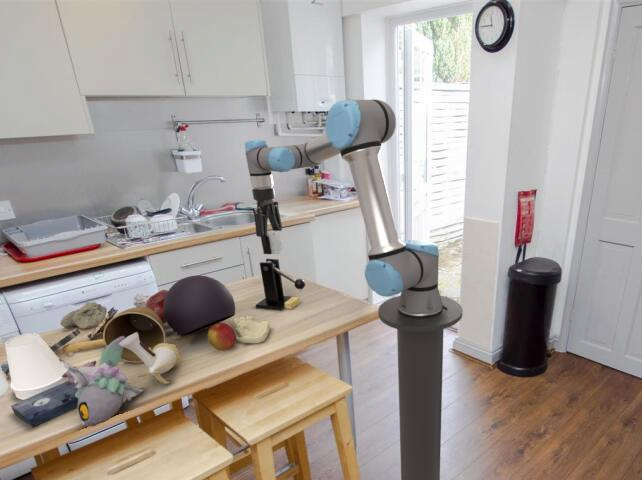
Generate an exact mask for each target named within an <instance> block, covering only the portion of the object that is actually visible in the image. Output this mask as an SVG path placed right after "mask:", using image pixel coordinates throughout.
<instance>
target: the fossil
mask: <svg viewBox="0 0 642 480" xmlns="http://www.w3.org/2000/svg"><path fill="white" fill-rule="evenodd" d="M107 312H108V311H107V307H106V306H103V305H101V303H100V304H99V303H98V302H95V301H92V302H89V301H87V302H86V303H85V304H84V305H83V306H81V307H80V308H77V309H76V310H73V311H70V312H68V313H67V314H65V315H64V316H62V318H61V320H60V322H59V324H60V326H62V328H64V329H66V328H71V327H78V328H80V329H84V330H85V329H90V328H96V327H97V326H98V325H99V324H100V323H101V322H102V321H103V320H104V319H105V318H106V317H107V314H108V313H107Z"/></svg>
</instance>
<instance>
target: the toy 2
mask: <svg viewBox="0 0 642 480" xmlns="http://www.w3.org/2000/svg"><path fill="white" fill-rule="evenodd" d="M124 339H125V337H124V336H122V337H119V338H117V339H116V340H114V341H113V342H111V343H110V344H109V345H108V346H107V347H106V346H105V348H104V349H103V351H102V352H101V354H100V357H99V363H100V365H97V360H93V361H91V362H90V361H89V362H86V363H84V364H83V365H82V366H80V367H77V366H74V365H70V364H69V363H68V362H66V361H65V360H64V359H61V358H59V361H60V362H61V363H63V364H64V365H65V367H66V368H67V371H66V373H64V374H63V375H62V377H64V378H66V377H68V380H67V383H66V385H65V386H69V385H75V389H74V390H77V389H78V391H77V392H76V393H75V396H76V398H78V405H77V407H76V408H77V411H78V416H79V419H80V423H81V424H82V426H83V427H85V428H87V427H88V428H89V427H94V428H95V427H96V426H98V425H100V424H102V423H105V422H107V421H109V420H110V419H111V418H112V417H113V416H114V415H115V414H116V413H118V412H119V410H120V409H121V407H122V406H124V405H125V403H126V400H127V401H128V403H131V401H132V398H135V397H136V396H138V395H140V394H141V393H142V392H143V391H145V388H144V387H140V388H138V387H134V386H132V385H130V382H128V380H129V377H128V376H127V375H126V374H125V373H123V372H120V367H118V366H116V365H118V363H119V362H120V360H121V359H120V358H121V355H122V353H123V348H124V347H122V346H120V345H119V343H120V342H121V341H123V340H124Z"/></svg>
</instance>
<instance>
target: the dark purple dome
mask: <svg viewBox="0 0 642 480" xmlns="http://www.w3.org/2000/svg"><path fill="white" fill-rule="evenodd" d="M167 291H168V292H167V294H166V296H165V299H164V305H163V311H164V316H165V319H166V324H167V323H168V325H169V326H170V327H169V328H170V330H173V331H174V332H175V333H174V334H176V335H178V336H180V337H186V336H188V335H189V336H190V335H192V334H194V333H195V334H196V333H198V332H200V331H202V330H206V329H208V328H210V327H211V326H213V325H214V324H216V323H223V322H224V321H227V320H229V319H230V318H233V317H235V315H236V304H235V300H234V296H233V294H232V293H231V291H230V290H229V289H228V288H227V286H226V285H225V284H223V283H222V282H221V281H219V280H217V279H215V278H213V277H210V276H206V275H190V276H186V277H183V278H181V279H179V280H178V281H176V282H175V283H173V285H171V287H170V288H169V289H168V290H167Z"/></svg>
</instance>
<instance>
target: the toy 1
mask: <svg viewBox="0 0 642 480" xmlns="http://www.w3.org/2000/svg"><path fill="white" fill-rule="evenodd" d="M81 333H82V332H81V331H80V330H79V329H78V328H76V329H73V330H71V331H69V332H68V333H66V334H65V335H63V336H62V337H59V339H57V340H55V341H54V342H52V343H51V344H49V345H48V346H49V347H50V349H51V350H52V351H53V352H54V353H55V352H57V351H58V350H59V349H61V348H63V347H64V346H65V345H67V343H69V342H71V341H72V340H73V339H75V338H77V336H79V335H80V334H81Z"/></svg>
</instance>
